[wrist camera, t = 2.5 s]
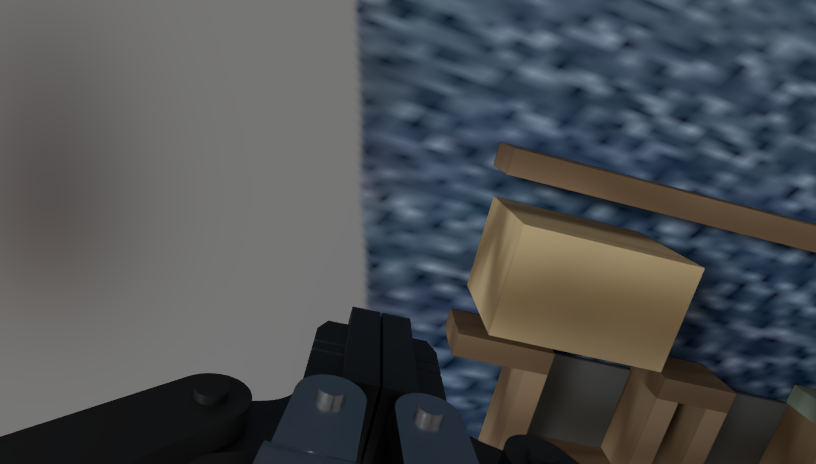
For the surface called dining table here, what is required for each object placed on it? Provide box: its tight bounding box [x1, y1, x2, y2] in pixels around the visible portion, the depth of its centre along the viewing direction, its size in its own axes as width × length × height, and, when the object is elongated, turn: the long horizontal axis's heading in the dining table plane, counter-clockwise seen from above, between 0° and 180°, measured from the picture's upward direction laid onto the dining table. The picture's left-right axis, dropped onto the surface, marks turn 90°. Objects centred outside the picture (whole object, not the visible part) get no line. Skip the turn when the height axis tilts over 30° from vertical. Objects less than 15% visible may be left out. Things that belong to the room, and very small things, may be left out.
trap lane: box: [445, 142, 816, 464], centre depth 27 cm, size 17×29×3 cm, turn 76°
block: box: [467, 196, 705, 372], centre depth 24 cm, size 5×8×6 cm, turn 76°
